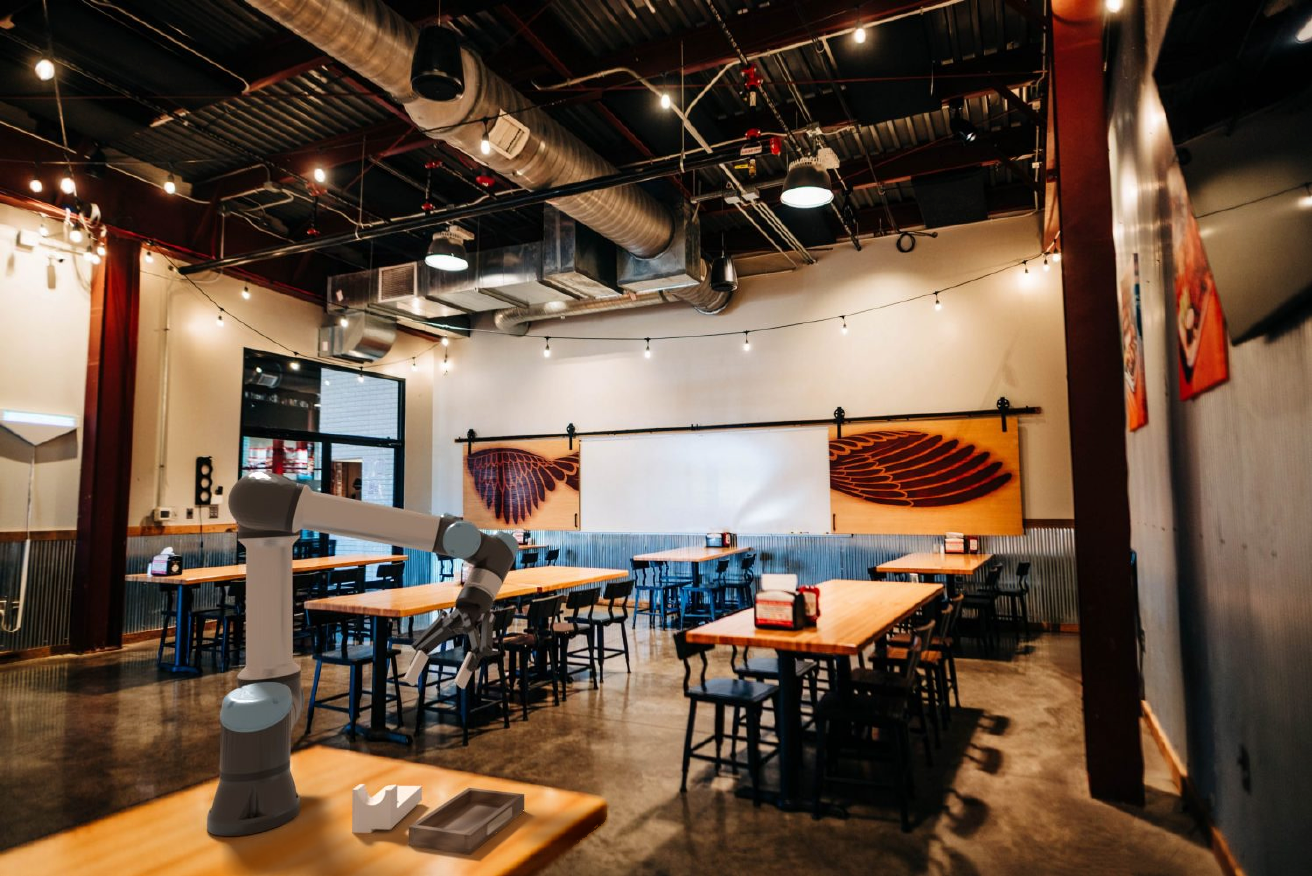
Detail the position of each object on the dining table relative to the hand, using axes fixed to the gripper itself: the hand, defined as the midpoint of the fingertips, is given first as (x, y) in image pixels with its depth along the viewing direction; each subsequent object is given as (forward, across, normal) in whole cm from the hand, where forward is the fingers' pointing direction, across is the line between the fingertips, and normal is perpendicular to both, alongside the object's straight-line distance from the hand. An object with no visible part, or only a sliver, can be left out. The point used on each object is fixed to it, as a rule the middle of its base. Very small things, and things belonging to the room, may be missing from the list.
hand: (433, 684), depth 148 cm
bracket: (+24, +2, -7) cm, 25 cm away
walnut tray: (+22, -15, -9) cm, 28 cm away
